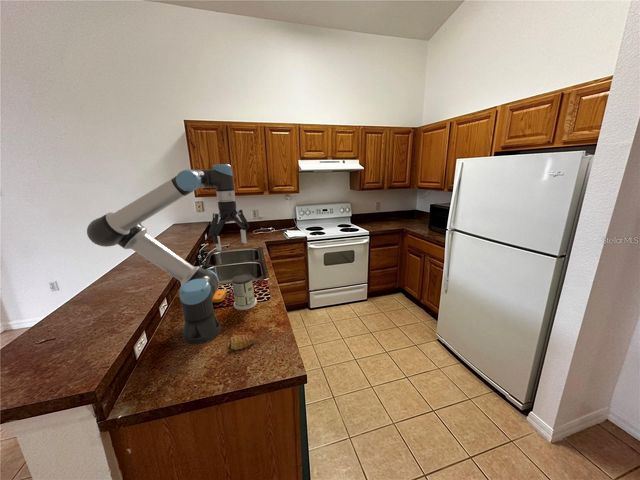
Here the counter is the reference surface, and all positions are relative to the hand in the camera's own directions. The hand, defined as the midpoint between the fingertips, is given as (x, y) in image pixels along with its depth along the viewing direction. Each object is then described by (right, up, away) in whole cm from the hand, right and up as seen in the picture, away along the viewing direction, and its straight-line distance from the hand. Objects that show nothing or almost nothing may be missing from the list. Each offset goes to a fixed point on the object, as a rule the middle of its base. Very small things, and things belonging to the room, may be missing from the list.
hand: (232, 246), depth 120 cm
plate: (+1, -31, +18) cm, 36 cm away
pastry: (+8, -40, -13) cm, 43 cm away
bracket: (-16, -30, +24) cm, 42 cm away
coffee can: (+1, -30, +17) cm, 35 cm away
